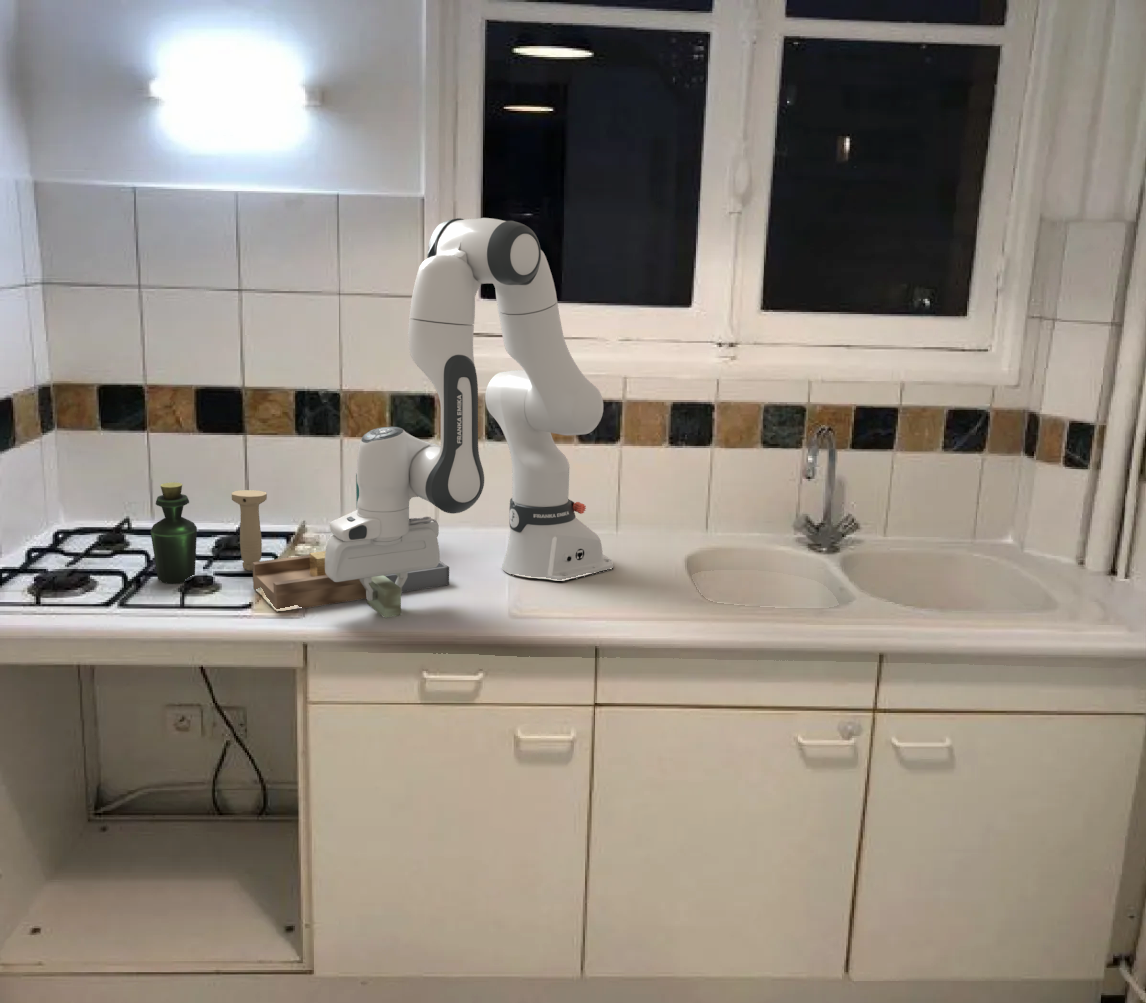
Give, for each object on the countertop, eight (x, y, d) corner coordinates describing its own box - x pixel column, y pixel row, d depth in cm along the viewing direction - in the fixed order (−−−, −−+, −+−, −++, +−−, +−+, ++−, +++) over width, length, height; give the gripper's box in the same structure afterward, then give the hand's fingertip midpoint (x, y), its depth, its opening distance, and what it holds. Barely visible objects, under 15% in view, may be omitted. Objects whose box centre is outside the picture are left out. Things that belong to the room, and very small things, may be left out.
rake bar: (383, 601, 195) (382, 574, 194) (400, 615, 189) (400, 587, 188) (367, 603, 194) (367, 576, 193) (384, 617, 187) (384, 590, 186)
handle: (263, 573, 208) (260, 497, 204) (230, 571, 208) (227, 495, 204) (272, 565, 212) (270, 491, 208) (240, 563, 213) (237, 489, 209)
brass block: (331, 571, 201) (330, 550, 200) (338, 577, 198) (338, 556, 197) (310, 573, 199) (309, 553, 198) (317, 580, 196) (316, 559, 195)
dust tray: (420, 565, 216) (420, 548, 215) (449, 584, 205) (449, 567, 204) (358, 574, 209) (358, 557, 208) (384, 594, 199) (384, 576, 198)
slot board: (357, 573, 210) (357, 548, 208) (385, 595, 198) (385, 569, 197) (253, 588, 199) (252, 562, 198) (276, 612, 188) (276, 584, 187)
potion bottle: (159, 571, 206) (154, 479, 202) (204, 571, 207) (199, 479, 203) (148, 585, 199) (142, 489, 194) (194, 585, 199) (189, 490, 195)
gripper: (430, 511, 195) (430, 584, 199) (320, 523, 185) (322, 600, 188) (446, 519, 190) (445, 594, 194) (333, 533, 179) (334, 612, 183)
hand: (383, 597), depth 191 cm, fingers closed on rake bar, 3 cm apart
